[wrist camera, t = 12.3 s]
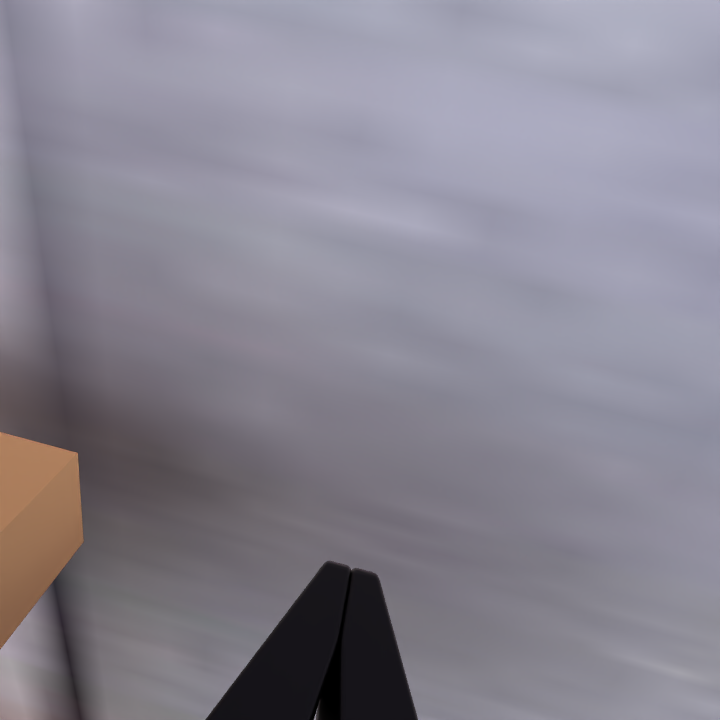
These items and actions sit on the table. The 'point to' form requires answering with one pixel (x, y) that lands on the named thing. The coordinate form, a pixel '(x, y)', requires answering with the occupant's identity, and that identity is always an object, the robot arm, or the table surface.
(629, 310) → the table surface
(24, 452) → the pin
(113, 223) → the table surface
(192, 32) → the table surface
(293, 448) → the table surface
